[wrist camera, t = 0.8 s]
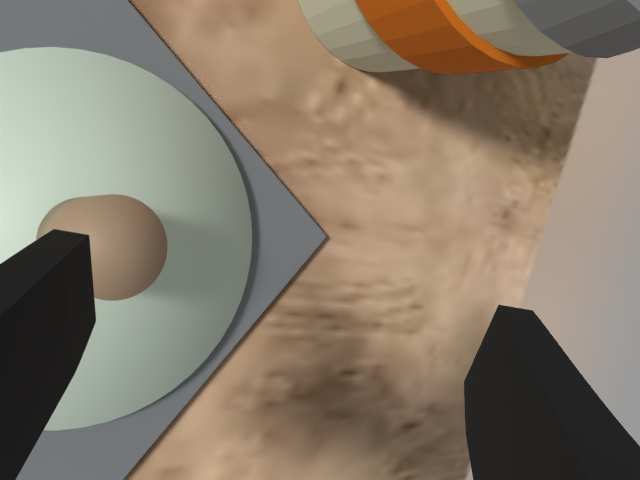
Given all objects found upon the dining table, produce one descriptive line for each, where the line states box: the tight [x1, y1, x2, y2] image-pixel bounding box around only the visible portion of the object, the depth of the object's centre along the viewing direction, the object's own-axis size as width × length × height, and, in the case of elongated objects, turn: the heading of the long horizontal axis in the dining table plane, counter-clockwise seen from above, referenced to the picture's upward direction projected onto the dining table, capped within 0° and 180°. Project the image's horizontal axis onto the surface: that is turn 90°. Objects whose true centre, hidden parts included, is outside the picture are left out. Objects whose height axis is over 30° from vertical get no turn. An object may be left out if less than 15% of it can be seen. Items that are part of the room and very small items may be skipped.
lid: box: [0, 47, 252, 431], centre depth 21 cm, size 14×14×6 cm
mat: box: [0, 0, 326, 480], centre depth 24 cm, size 16×16×1 cm
